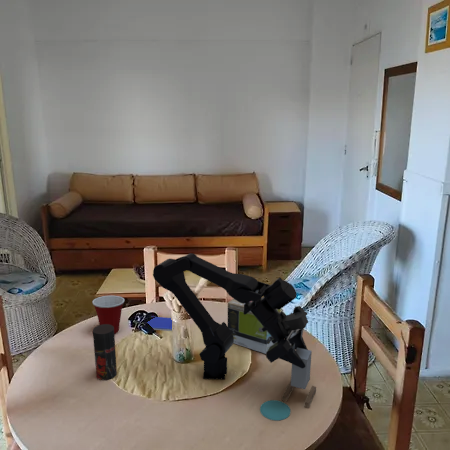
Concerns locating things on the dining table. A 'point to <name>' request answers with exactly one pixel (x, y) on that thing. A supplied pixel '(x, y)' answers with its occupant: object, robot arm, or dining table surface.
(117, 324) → the plastic cup
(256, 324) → the tea box
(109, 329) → the deodorant
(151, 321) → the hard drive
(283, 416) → the pad
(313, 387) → the pair of brown bars
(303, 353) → the grey block
